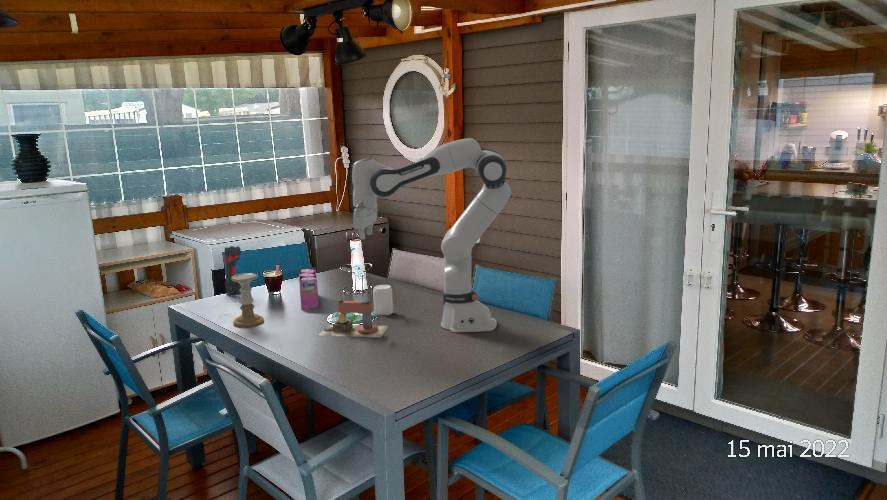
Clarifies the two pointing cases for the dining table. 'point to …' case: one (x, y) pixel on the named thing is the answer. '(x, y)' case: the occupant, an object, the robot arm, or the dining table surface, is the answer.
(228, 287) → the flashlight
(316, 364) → the dining table surface
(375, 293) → the white tapered cylinder
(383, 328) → the board
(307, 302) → the gum box
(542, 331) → the dining table surface
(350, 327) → the brown box
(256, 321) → the candle holder
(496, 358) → the dining table surface
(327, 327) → the slate pad
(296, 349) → the dining table surface
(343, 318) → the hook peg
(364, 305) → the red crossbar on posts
